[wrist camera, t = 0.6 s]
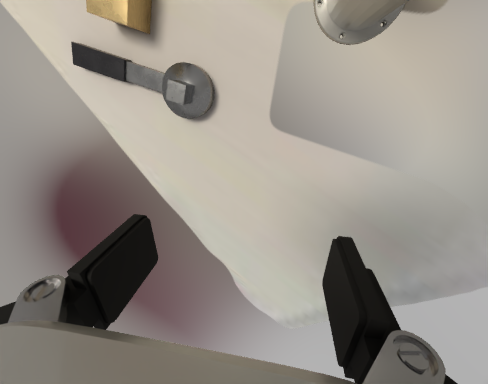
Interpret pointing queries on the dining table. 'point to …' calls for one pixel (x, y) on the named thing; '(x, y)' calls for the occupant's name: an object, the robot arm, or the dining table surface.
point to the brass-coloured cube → (123, 12)
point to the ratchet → (154, 79)
